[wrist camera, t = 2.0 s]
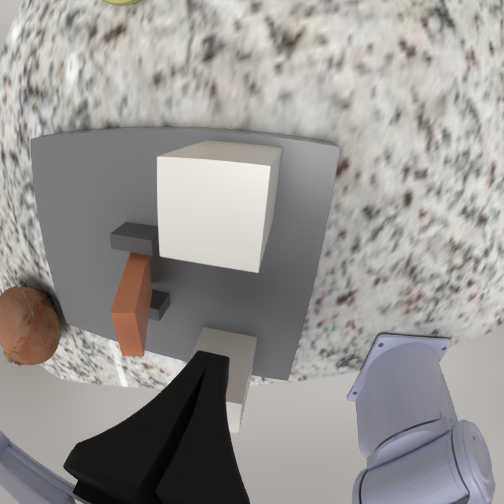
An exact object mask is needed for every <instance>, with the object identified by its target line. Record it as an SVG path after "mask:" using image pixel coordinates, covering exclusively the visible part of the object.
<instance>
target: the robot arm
mask: <svg viewBox="0 0 504 504" xmlns="http://www.w3.org/2000/svg"><path fill="white" fill-rule="evenodd" d="M380 343H382V344H380ZM450 344H451V341H450V340H449V339H447V338H428V337H413V336H400V335H388V334H381V335H379V336H378V337H377V339H376V341H375V343H374V345H373V347H372V349H371V351H370V354H369V356H368V358H367V360H366V362H365V364H364V366H363V367H362V369H361V371H360V373H359V375H358V377H357V379H356V381H355V383H354V385H353V386H352V388H351V390H350V392H349V394H348V395H347V399H348V400H349V401H356V411H357V424H358V440H359V448H360V450H361V453H362V454H363V456H364V457H365V458H366V459H367V468H365V469H364V470H363V471H361V472H360V473H359V475H358V476H357V478H356V480H355V483H354V486H353V492H352V504H491V502H492V499H493V495H494V492H495V481H494V477H493V474H492V465H491V459H490V455H489V451H488V448H487V445H486V442H485V440H484V438H483V436H482V434H481V432H480V430H479V429H478V427H477V426H476V425H475V424H474V423H472V422H468V421H466V420H460V421H459V422H458V419H457V416H456V412H455V409H454V406H453V403H452V399H451V397H450V393H449V391H448V388H447V385H446V382H445V379H444V376H443V373H442V371H441V368H440V365H439V362H440V360H441V359H442V357H443V356H444V354H445V352H446V351H447V349H448V348H449V346H450ZM229 363H230V358H229V357H228V356H224V355H219V354H214V353H210V352H205V351H201V350H199V351H197V352H196V353H195V355H194V356H193V357H192V359H191V360H190V361H189V362H188V364H187V365H186V366H185V367H184V368H183V370H182V371H181V372H180V373H179V374H178V375H177V376H176V377H175V378H174V379H173V380H172V382H171V383H170V384H169V385H168V386H167V387H166V388H165V389H163V390H162V391H161V393H159V394H158V395H157V396H156V397H155V398H154V399H153V400H151V401H150V402H149V403H148V404H147V405H145V406H144V407H143V408H141V409H140V410H139V411H137V412H136V413H135V414H133V415H132V416H130V417H129V418H127V419H126V420H124V421H123V422H121V423H119V424H118V425H116V426H114V427H112V428H110V429H108V430H106V431H105V432H103V433H101V434H99V435H97V436H94V437H92V438H89V439H87V440H85V441H82V442H79V443H77V444H76V446H75V447H74V448H73V450H72V451H71V453H70V454H69V456H68V458H67V460H66V462H65V463H64V465H63V466H64V469H65V470H66V471H67V472H69V473H70V474H71V475H72V476H73V477H75V478H76V479H78V482H77V484H76V486H75V485H73V484H72V483H70V482H68V481H67V480H65V479H63V478H62V477H60V476H58V475H57V474H55V473H54V472H52V471H50V470H49V469H47V468H46V467H44V466H43V465H42V464H40V463H39V462H37V461H36V460H34V459H33V458H32V457H30V456H29V455H28V454H26V453H25V452H23V451H22V450H21V449H20V448H19V447H17V446H16V445H15V444H14V443H12V442H11V441H10V440H9V439H8V438H7V437H6V436H5V435H4V434H3V433H2V432H1V431H0V486H1V487H2V488H3V489H4V490H5V491H6V492H7V493H8V494H9V495H10V496H11V497H12V498H13V499H14V500H15V501H16V502H17V503H18V504H76V503H75V500H74V498H75V499H76V500H78V501H80V502H82V503H84V504H250V501H249V498H248V495H247V492H246V490H245V487H244V484H243V482H242V479H241V476H240V473H239V470H238V466H237V462H236V459H235V455H234V451H233V447H232V442H231V437H230V432H229V425H228V418H227V409H226V391H227V386H228V378H229Z"/></svg>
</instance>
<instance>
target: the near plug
mask: <svg viewBox="0 0 504 504" xmlns="http://www.w3.org/2000/svg"><path fill="white" fill-rule="evenodd" d="M281 149H282V147H274V146H266V145H257V144H247V143H236V142H224V141H210V140H207V141H204V142H200V143H197V144H194V145H190V146H187V147H184V148H181V149H178V150H175V151H172V152H169V153H166V154H163V155H160V156H157V207H158V233H159V251H160V256H161V257H166V258H172V259H178V260H183V261H189V262H195V263H201V264H207V265H213V266H219V267H225V268H231V269H237V270H244V271H250V272H256V273H258V272H259V269H260V265H261V261H262V258H263V254H264V250H265V247H266V243H267V239H268V236H269V232H270V228H271V225H272V221H273V216H274V208H275V200H276V192H277V183H278V175H279V166H280V158H281Z"/></svg>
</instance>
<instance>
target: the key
mask: <svg viewBox="0 0 504 504" xmlns="http://www.w3.org/2000/svg"><path fill="white" fill-rule="evenodd" d="M104 1H105V2H107V3H109V4H112V5H116V6H124V5H131V4H134V3H137V2H139V1H141V0H104Z"/></svg>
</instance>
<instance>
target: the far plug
mask: <svg viewBox="0 0 504 504" xmlns="http://www.w3.org/2000/svg"><path fill="white" fill-rule="evenodd" d="M256 342H257V337H255V336H249V335H243V334H238V333H232V332H227V331H222V330H217V329H212V328H207V327H203V329H202V331H201V333H200V336H199V338H198V340H197V343H196V345H195V347H194V349H193V352H192V354H191V356H190V358H189V361H190V360H191V359H192V357H193V356H194V355H195V353H196V352H197V351H199V350H201V351H205V352H210V353H214V354H219V355H224V356H228V357H229V358H230V363H229V378H228V386H227V391H226V409H227V418H228V425H229V432H234V433H239V428H240V424H241V420H242V415H243V411H244V406H245V401H246V397H247V393H248V388H249V384H250V379H251V375H252V370H253V363H254V356H255V349H256ZM189 361H188V362H189ZM187 364H188V363H187Z"/></svg>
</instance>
